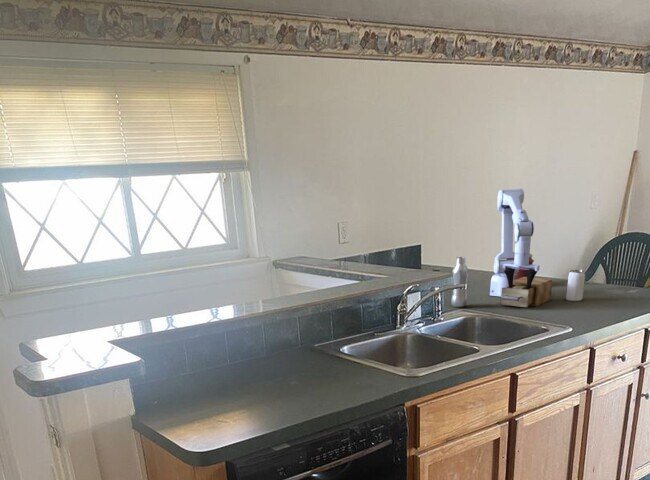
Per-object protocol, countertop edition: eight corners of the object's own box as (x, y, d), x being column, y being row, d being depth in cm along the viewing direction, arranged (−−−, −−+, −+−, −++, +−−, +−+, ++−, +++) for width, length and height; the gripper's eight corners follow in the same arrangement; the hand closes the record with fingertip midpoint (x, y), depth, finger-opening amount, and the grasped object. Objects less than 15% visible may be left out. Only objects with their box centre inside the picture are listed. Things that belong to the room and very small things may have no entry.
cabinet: (536, 306, 267) (538, 284, 264) (507, 302, 275) (508, 282, 271) (550, 299, 277) (552, 279, 274) (522, 296, 285) (523, 276, 282)
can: (579, 298, 277) (583, 269, 273) (584, 301, 271) (587, 272, 267) (564, 298, 278) (567, 270, 273) (567, 301, 272) (571, 272, 267)
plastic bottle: (468, 305, 273) (470, 256, 265) (464, 309, 267) (466, 259, 259) (453, 304, 275) (455, 256, 268) (449, 308, 270) (450, 258, 262)
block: (511, 301, 268) (512, 286, 265) (515, 299, 270) (516, 285, 268) (520, 302, 265) (522, 287, 263) (525, 300, 268) (526, 286, 266)
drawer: (522, 309, 259) (523, 292, 256) (495, 306, 265) (496, 289, 263) (540, 301, 271) (542, 284, 269) (514, 298, 278) (516, 282, 275)
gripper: (500, 253, 262) (498, 287, 267) (535, 255, 253) (532, 290, 258) (508, 251, 267) (506, 284, 272) (542, 253, 258) (539, 287, 263)
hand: (519, 287), depth 266 cm, fingers open, 7 cm apart
